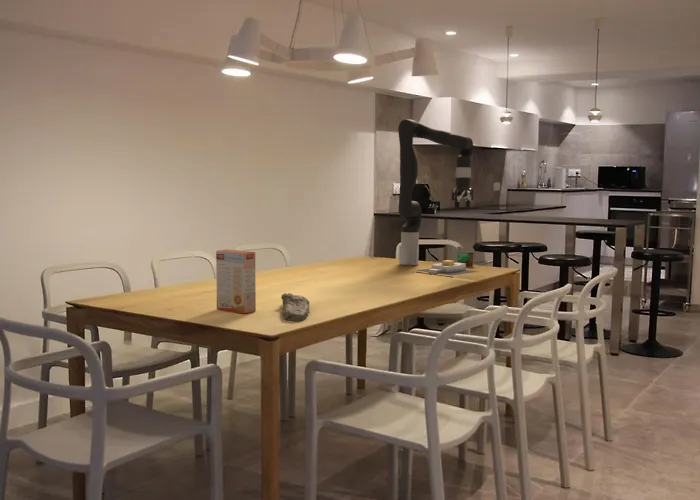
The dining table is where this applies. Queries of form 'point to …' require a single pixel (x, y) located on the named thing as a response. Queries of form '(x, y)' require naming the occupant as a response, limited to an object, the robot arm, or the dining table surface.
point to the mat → (448, 273)
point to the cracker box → (236, 281)
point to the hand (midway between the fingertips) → (462, 209)
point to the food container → (465, 255)
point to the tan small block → (447, 263)
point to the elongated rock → (295, 307)
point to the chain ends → (447, 268)
